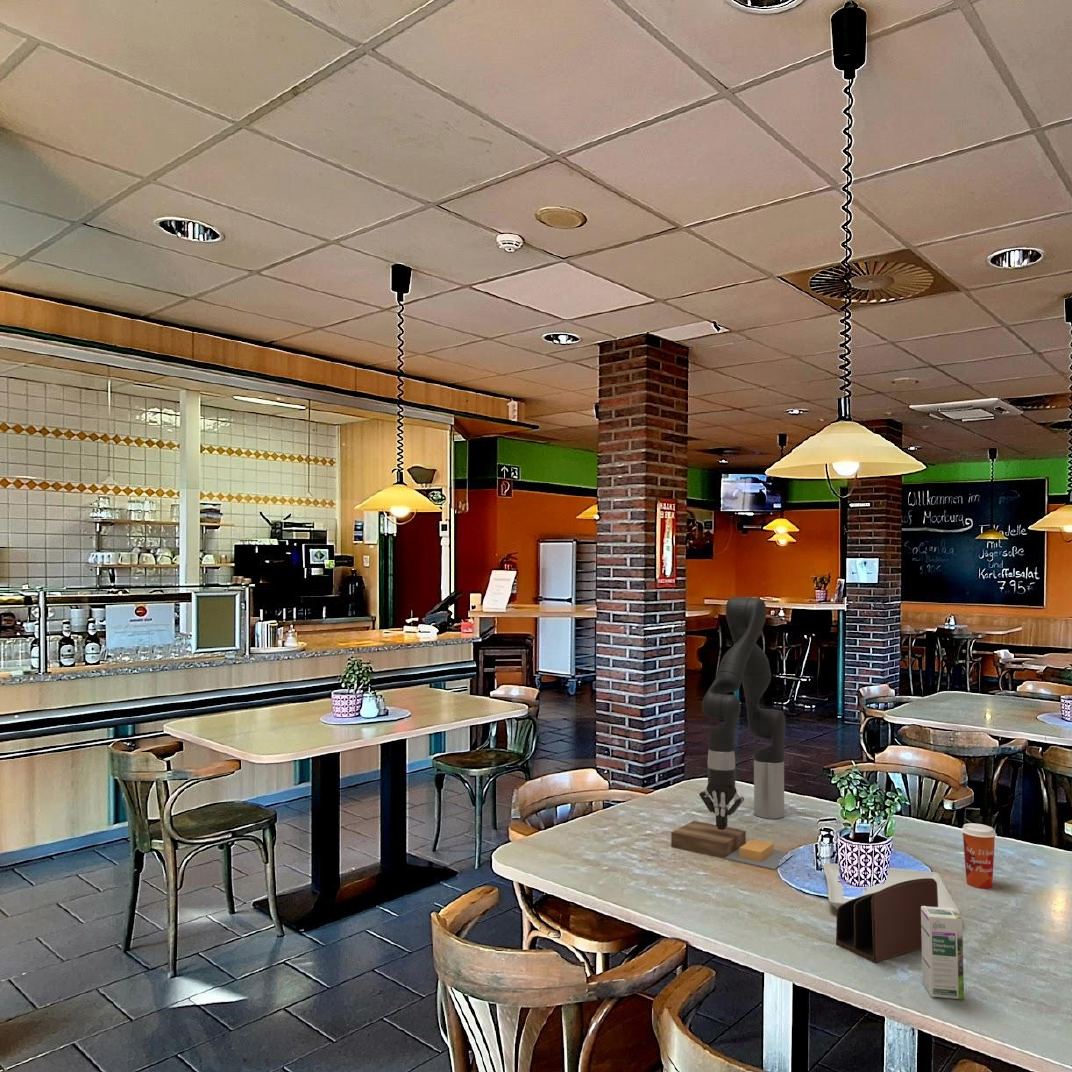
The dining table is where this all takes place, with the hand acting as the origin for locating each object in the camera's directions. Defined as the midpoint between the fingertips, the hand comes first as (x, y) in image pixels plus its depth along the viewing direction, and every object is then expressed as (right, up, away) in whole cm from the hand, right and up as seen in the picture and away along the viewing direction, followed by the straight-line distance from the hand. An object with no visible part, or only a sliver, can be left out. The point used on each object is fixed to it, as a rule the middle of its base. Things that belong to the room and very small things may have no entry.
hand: (721, 828), depth 235 cm
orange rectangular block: (+8, -4, -6) cm, 11 cm away
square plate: (+31, -5, -36) cm, 48 cm away
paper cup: (+58, -5, -26) cm, 64 cm away
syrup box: (+23, -3, -80) cm, 83 cm away
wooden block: (-3, -6, +2) cm, 7 cm away
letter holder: (+21, -4, -60) cm, 64 cm away
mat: (+9, -5, -7) cm, 12 cm away
